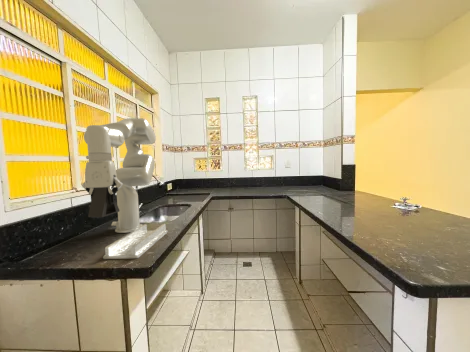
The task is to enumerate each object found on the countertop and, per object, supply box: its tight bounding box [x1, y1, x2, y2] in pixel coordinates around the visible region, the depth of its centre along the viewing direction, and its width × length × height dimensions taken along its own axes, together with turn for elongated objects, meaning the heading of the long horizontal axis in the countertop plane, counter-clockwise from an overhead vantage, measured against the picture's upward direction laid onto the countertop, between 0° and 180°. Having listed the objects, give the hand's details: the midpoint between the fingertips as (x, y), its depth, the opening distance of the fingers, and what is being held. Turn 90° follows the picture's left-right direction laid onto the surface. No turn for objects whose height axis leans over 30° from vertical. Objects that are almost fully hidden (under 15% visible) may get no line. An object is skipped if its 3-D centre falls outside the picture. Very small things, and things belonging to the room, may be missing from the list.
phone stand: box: [87, 188, 120, 218], centre depth 79 cm, size 9×6×12 cm, turn 170°
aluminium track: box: [103, 223, 169, 260], centre depth 83 cm, size 12×28×4 cm, turn 178°
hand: (103, 203), depth 79 cm, fingers closed on phone stand, 6 cm apart
